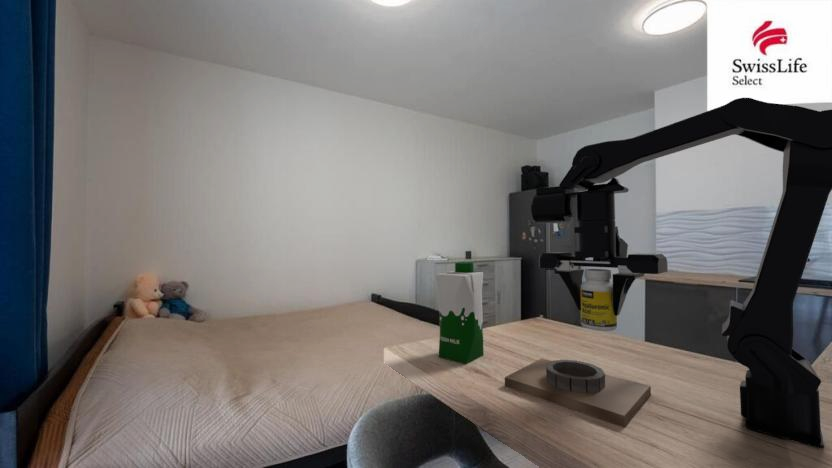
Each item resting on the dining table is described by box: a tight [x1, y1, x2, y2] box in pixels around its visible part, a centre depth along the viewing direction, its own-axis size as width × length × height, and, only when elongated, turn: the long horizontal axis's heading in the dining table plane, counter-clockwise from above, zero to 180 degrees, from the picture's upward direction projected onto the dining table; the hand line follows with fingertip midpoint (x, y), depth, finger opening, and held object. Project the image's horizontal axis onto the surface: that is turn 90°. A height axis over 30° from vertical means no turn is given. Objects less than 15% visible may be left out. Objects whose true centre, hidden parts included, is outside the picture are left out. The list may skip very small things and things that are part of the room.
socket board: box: [504, 358, 652, 428], centre depth 55 cm, size 18×13×4 cm
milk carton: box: [434, 261, 485, 365], centre depth 73 cm, size 9×9×20 cm
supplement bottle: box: [580, 268, 618, 332], centre depth 58 cm, size 5×5×10 cm
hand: (598, 312), depth 58 cm, fingers closed on supplement bottle, 5 cm apart
